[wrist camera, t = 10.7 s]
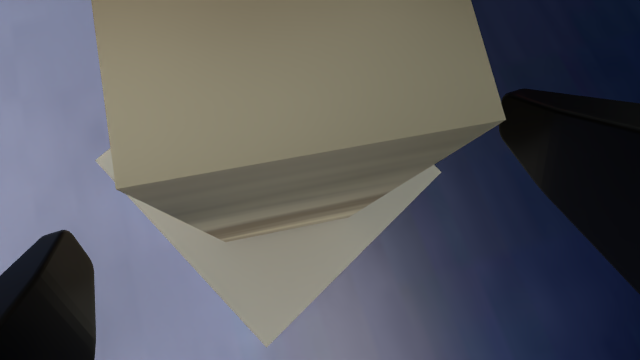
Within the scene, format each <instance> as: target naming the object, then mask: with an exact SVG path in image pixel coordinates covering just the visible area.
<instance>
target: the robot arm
mask: <svg viewBox="0 0 640 360" xmlns="http://www.w3.org/2000/svg"><path fill="white" fill-rule="evenodd" d="M501 104H502V108H503V111H504V114H505V118H506V120H505V121H503V122H502V123H500V124H499V131H500V135H501V137H502V139H503V141H504V142H505V143H506V145H507V146H508V147H509V149H510V150H511V151H512V153H513V154H514V155H515V157H516V158H517V159H518V161H519V162H520V163H521V165H522V166H523V167H524V169H525V170H526V171H527V172H528V174H529V175H530V176H531V178H532V179H533V180H534V182H535V183H536V184H537V185H538V187H539V188H540V189H541V190H542V191H543V192H544V194H545V195H546V196H547V197H548V198H549V199H550V200H551V201H552V202H553V203H554V204H555V205H556V206H557V208H558V209H559V210H560V211H561V212H562V213H563V214H564V215H565V216H566V217H567V218H568V219H569V220H570V221H571V222H572V223H573V224H574V226H575V227H576V228H577V229H578V230H579V231H580V232H581V233H582V234H583V235H584V236H585V237H586V238H587V239H588V240H589V241H590V242H591V243H592V245H593V246H594V247H595V248H596V249H597V250H598V251H599V252H600V253H601V254H602V255H603V256H604V257H605V258H606V259H607V260H608V261H609V262H610V264H611V265H612V266H613V267H614V268H615V269H616V270H617V271H618V272H619V273H620V274H621V275H622V276H623V277H624V278H625V279H626V280H627V282H628V283H629V284H630V285H631V286H632V287H633V288H634V289H635V290H636V291H637V292H638V293H639V294H640V104H639V103H631V102H624V101H616V100H608V99H600V98H593V97H585V96H577V95H570V94H562V93H554V92H547V91H539V90H531V89H519V90H516V91H513V92H510V93H507V94H505V95H504V96H503V98H502V102H501ZM95 345H96V320H95V290H94V268H93V264H92V262H91V260H90V258H89V257H88V255H87V254H86V252H85V251H84V250H83V248H82V247H81V245H80V244H79V243H78V241H77V240H76V239H75V237H74V236H73V235H72V233H70V232H69V231H67V230H61V231H57V232H54V233H51V234H48V235H45V236H43V237H41V238H40V239H39V240H38V241H37V242H36V243H35V244H34V245H32V246H31V247H30V248H29V249H28V250H27V251H26V252H25V253H24V254H23V255H22V256H21V257H20V258H19V259H18V260H16V261H15V262H14V263H13V264H12V265H11V266H10V267H9V268H8V269H7V270H6V271H5V272H4V273H3V274H2V275H1V276H0V360H94V358H95Z"/></svg>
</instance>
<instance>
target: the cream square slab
mask: <svg viewBox="0 0 640 360" xmlns="http://www.w3.org/2000/svg"><path fill="white" fill-rule="evenodd" d="M95 161H96V162H97V163H98V164H99V165H100V166H101V167H102V168H103V170H104V171H105V172H106V173H107V174H108V175H109V176H110V177H111V178H112V179H113V180H114V182H115V179H114V171H113V163H112V156H111V148H110V149H109V150H107V151H106V152H105V153H104V154H103V155H101V156H100V157H99V158H98V159H96V160H95ZM440 173H441V171H440V170H439V169H438V168H437V167H436V166H435V165H432V166H431V167H429V168H428V169H426V170H424V171H423V172H421V173H419V174H418V175H416V176H415V177H413V178H411V179H410V180H408V181H407V182H405V183H403V184H402V185H400V186H399V187H397V188H395V189H394V190H392V191H390V192H389V193H387V194H386V195H384V196H382V197H381V198H379V199H378V200H376V201H374V202H373V203H371V204H370V205H368V206H366V207H365V208H363V209H361V210H360V211H358V212H357V213H355V214H353V215H352V216H350V217H347V218H342V219H337V220H333V221H328V222H323V223H318V224H313V225H308V226H303V227H298V228H293V229H288V230H283V231H278V232H273V233H268V234H263V235H258V236H253V237H248V238H243V239H238V240H233V241H228V242H224V241H222V240H220V239H218V238H216V237H214V236H212V235H210V234H208V233H205V232H203V231H201V230H199V229H197V228H195V227H193V226H191V225H189V224H187V223H185V222H183V221H181V220H179V219H177V218H175V217H172V216H170V215H168V214H166V213H164V212H162V211H160V210H158V209H156V208H154V207H152V206H150V205H148V204H146V203H144V202H142V201H139V200H137V199H135V198H133V197H131V196H129V195H127V194H126V195H127V196H128V197H129V198H130V199H131V200H132V201H133V202H134V203H135V204H136V206H137V207H138V208H139V209H140V210H141V211H142V212H143V213H144V214H145V215H146V216H147V218H148V219H149V220H150V221H151V222H152V223H153V224H154V225H155V226H156V227H157V228H158V230H159V231H160V232H161V233H162V234H163V235H164V236H165V237H166V238H167V239H168V240H169V242H170V243H171V244H172V245H173V246H174V247H175V248H176V249H177V250H178V251H179V252H180V254H181V255H182V256H183V257H184V258H185V259H186V260H187V261H188V262H189V263H190V264H191V266H192V267H193V268H194V269H195V270H196V271H197V272H198V273H199V274H200V275H201V276H202V278H203V279H204V280H205V281H206V282H207V283H208V284H209V285H210V286H211V287H212V288H213V290H214V291H215V292H216V293H217V294H218V295H219V296H220V297H221V298H222V299H223V300H224V302H225V303H226V304H227V305H228V306H229V307H230V308H231V309H232V310H233V311H234V312H235V314H236V315H237V316H238V317H239V318H240V319H241V320H242V321H243V322H244V323H245V325H246V326H247V327H248V328H249V329H250V330H251V331H252V332H253V333H254V334H255V335H256V337H257V338H258V339H259V340H260V341H261V342H262V343H263V344H264V345H265V346H266V347H268V346H269V345H270V344H271V343H272V342H273V341H274V340H275V339H276V338H277V337H278V336H279V335H280V334H281V333H282V332H283V331H284V330H285V329H286V328H287V327H288V326H289V325H290V324H291V323H292V322H293V321H294V320H295V319H296V318H297V317H298V316H299V315H300V314H301V313H302V311H303V310H304V309H305V308H306V307H307V306H308V305H309V304H310V303H311V302H312V301H313V300H314V299H315V298H316V297H317V296H318V295H319V294H320V293H321V292H322V291H323V290H324V289H325V288H326V287H327V286H328V285H329V284H330V283H331V282H332V281H333V280H334V279H335V278H336V277H337V276H338V275H339V274H340V273H341V272H342V271H343V270H344V269H345V268H346V267H347V266H348V265H349V264H350V263H351V262H352V261H353V260H354V259H355V258H356V257H357V256H358V255H359V254H360V253H361V252H362V251H363V250H364V249H365V248H366V247H367V246H368V245H369V244H370V243H371V242H372V241H373V240H374V239H375V238H376V237H377V236H378V235H379V234H380V233H381V232H382V231H383V230H384V229H385V228H386V227H387V226H388V225H389V224H390V223H391V222H392V221H393V220H394V219H395V218H396V217H397V216H398V215H399V214H400V213H401V212H402V211H403V210H404V209H405V208H406V207H407V206H408V205H409V204H410V203H411V202H412V201H413V200H414V199H415V198H416V197H417V196H418V195H419V194H420V193H421V192H422V191H423V190H424V189H425V188H426V187H427V186H428V185H429V184H430V183H431V182H432V181H433V180H434V179H435V178H436V177H437V176H438V175H439V174H440Z"/></svg>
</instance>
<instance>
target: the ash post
mask: <svg viewBox="0 0 640 360" xmlns="http://www.w3.org/2000/svg"><path fill="white" fill-rule="evenodd" d="M91 1H92V9H93V17H94V25H95V32H96V40H97V48H98V55H99V63H100V71H101V78H102V86H103V94H104V102H105V109H106V117H107V125H108V132H109V140H110V148H111V156H112V163H113V171H114V179H115V186H116V189H117V190H119V191H121V192H123V193H125V194H127V195H129V196H131V197H133V198H135V199H137V200H139V201H142V202H144V203H146V204H148V205H150V206H152V207H154V208H156V209H158V210H160V211H162V212H164V213H166V214H168V215H170V216H172V217H175V218H177V219H179V220H181V221H183V222H185V223H187V224H189V225H191V226H193V227H195V228H197V229H199V230H201V231H203V232H205V233H208V234H210V235H212V236H214V237H216V238H218V239H220V240H222V241H224V242H228V241H233V240H238V239H243V238H248V237H253V236H258V235H263V234H268V233H273V232H278V231H283V230H288V229H293V228H298V227H303V226H308V225H313V224H318V223H323V222H328V221H333V220H337V219H342V218H347V217H350V216H352V215H353V214H355V213H357V212H358V211H360V210H361V209H363V208H365V207H366V206H368V205H370V204H371V203H373V202H374V201H376V200H378V199H379V198H381V197H382V196H384V195H386V194H387V193H389V192H390V191H392V190H394V189H395V188H397V187H399V186H400V185H402V184H403V183H405V182H407V181H408V180H410V179H411V178H413V177H415V176H416V175H418V174H419V173H421V172H423V171H424V170H426V169H428V168H429V167H431V166H432V165H434V164H436V163H437V162H439V161H440V160H442V159H444V158H445V157H447V156H448V155H450V154H452V153H453V152H455V151H457V150H458V149H460V148H461V147H463V146H465V145H466V144H468V143H469V142H471V141H473V140H474V139H476V138H477V137H479V136H481V135H482V134H484V133H486V132H487V131H489V130H490V129H492V128H494V127H495V126H497V125H498V124H500V123H502V122H503V121H505V120H506V118H505V114H504V111H503V108H502V104H501V101H500V97H499V94H498V91H497V87H496V84H495V80H494V77H493V74H492V70H491V67H490V64H489V60H488V57H487V53H486V50H485V47H484V43H483V40H482V36H481V33H480V30H479V26H478V23H477V19H476V16H475V13H474V9H473V6H472V3H471V0H91Z"/></svg>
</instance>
